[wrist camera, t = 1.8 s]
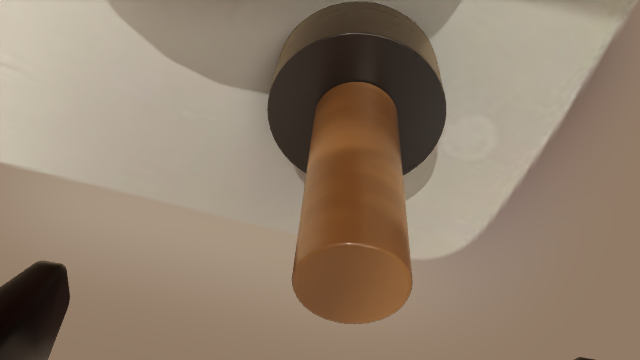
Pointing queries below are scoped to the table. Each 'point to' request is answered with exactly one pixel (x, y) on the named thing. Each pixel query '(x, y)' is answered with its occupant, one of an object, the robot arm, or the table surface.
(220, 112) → the table surface
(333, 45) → the coffee tamper
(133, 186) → the table surface
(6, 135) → the table surface
